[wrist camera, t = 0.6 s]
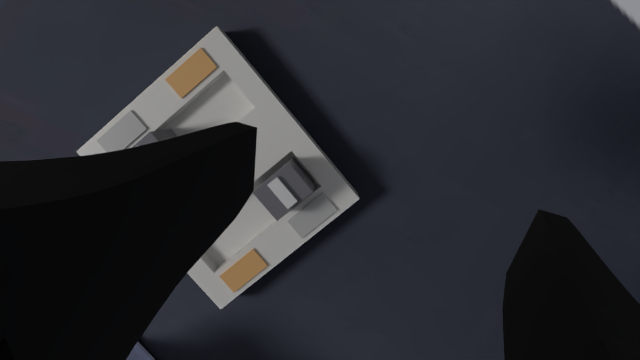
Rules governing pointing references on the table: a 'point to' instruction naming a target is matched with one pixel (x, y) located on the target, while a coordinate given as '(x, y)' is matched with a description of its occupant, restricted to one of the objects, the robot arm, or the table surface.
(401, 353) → the table surface
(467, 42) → the table surface
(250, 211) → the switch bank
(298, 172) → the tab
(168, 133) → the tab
